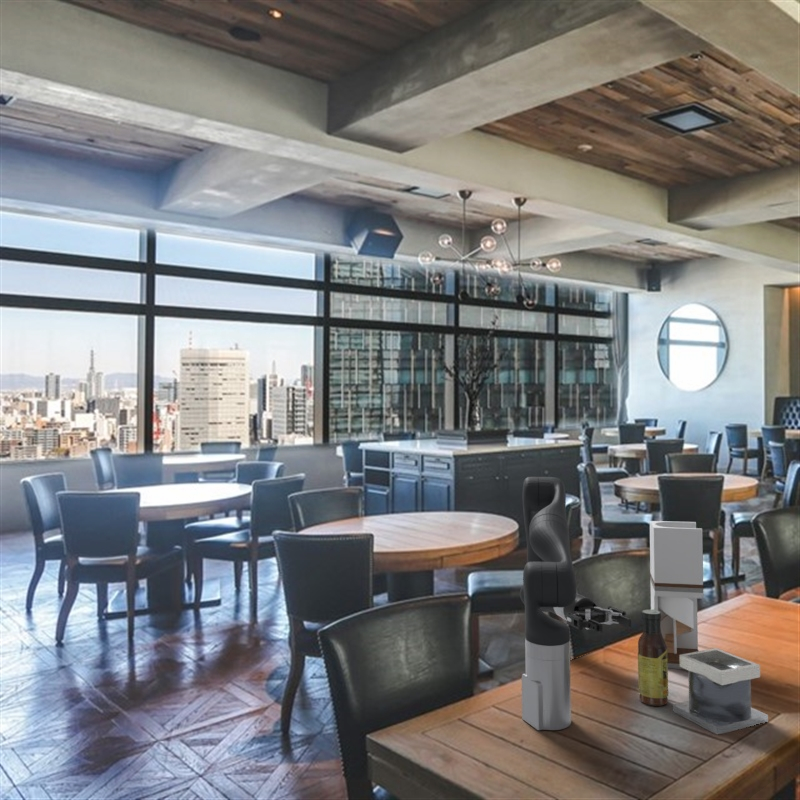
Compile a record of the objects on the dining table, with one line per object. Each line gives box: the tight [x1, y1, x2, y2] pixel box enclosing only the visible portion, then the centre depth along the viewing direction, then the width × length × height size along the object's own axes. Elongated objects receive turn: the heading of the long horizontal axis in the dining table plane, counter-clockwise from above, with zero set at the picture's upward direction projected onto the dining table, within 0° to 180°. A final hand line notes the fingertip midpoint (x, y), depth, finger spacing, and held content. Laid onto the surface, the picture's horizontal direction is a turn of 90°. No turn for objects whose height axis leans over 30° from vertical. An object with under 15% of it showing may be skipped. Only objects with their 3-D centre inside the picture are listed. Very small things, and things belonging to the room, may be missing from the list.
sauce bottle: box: [637, 609, 669, 707], centre depth 161 cm, size 7×6×20 cm
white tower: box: [649, 520, 704, 670], centre depth 186 cm, size 11×11×35 cm
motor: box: [672, 647, 769, 736], centre depth 153 cm, size 14×12×12 cm
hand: (615, 626), depth 173 cm, fingers open, 8 cm apart
